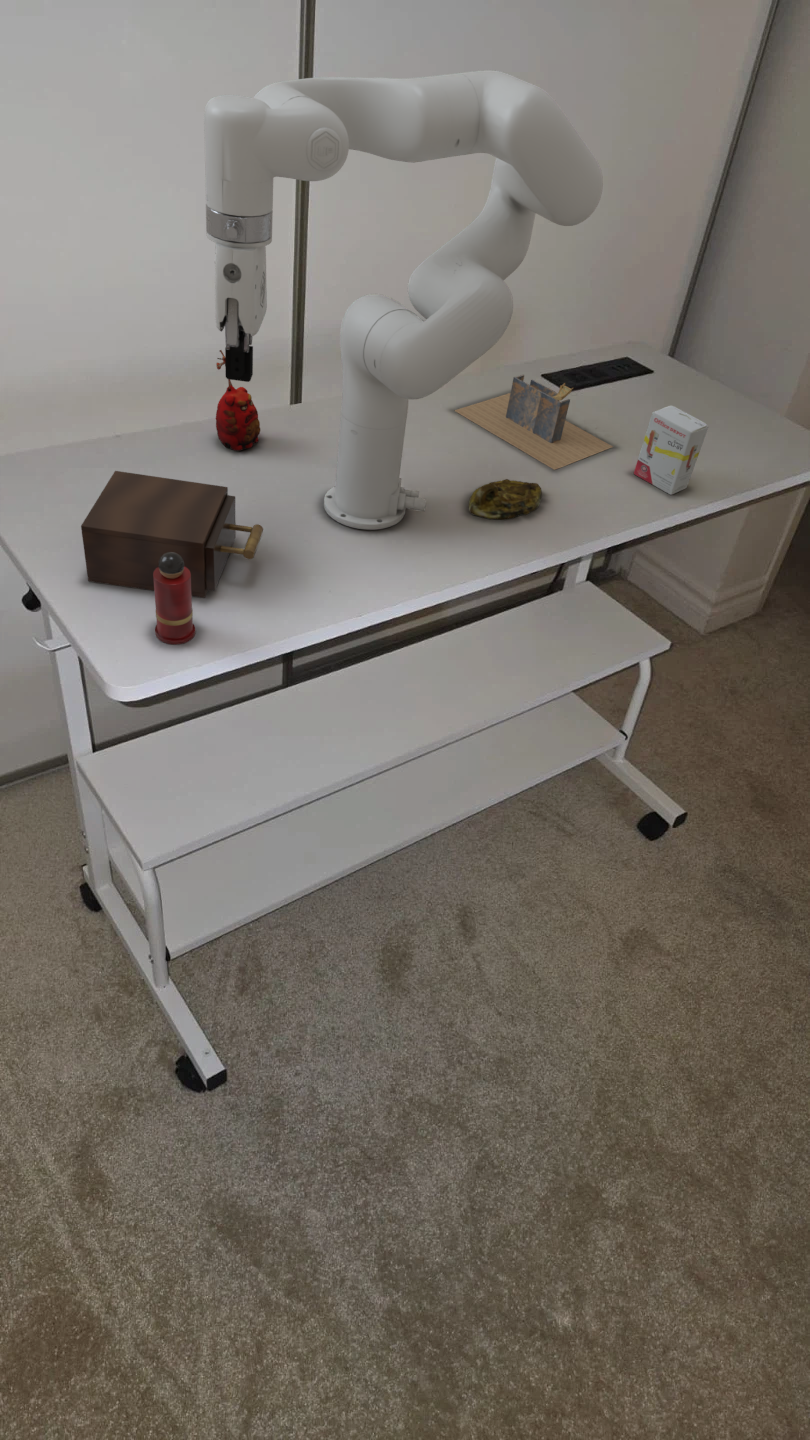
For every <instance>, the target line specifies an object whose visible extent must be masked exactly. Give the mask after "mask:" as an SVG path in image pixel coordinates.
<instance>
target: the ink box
mask: <svg viewBox="0 0 810 1440" xmlns="http://www.w3.org/2000/svg"><path fill="white" fill-rule="evenodd" d="M646 428H647V429H646V432H645V435H644V438H643V441H642V444H641V449H640V451H639V454H638V458H637V461H636V464H635V467H634V470H633V475H635V476H636V477H638V478H639V479H642V480H644V481H645V482H647V483H649V484H651V485H652V486H653V487H656V488H657V489H659V490H661V491H662V492H665V493H666V494H668V495H670V496H672V495H674V494H677V493H678V492H681V491H683V490H685V489H687V487H688V485H689V482H690V479H691V477H692V474H693V472H694V469H695V465H696V463H697V460H698V457H699V455H700V452H701V449H702V447H703V443H704V441H705V438H706V435H707V432H708V430H709V426H708V424H707V423H706V422H704V421H702V420H701V419H698V418H697V417H695V416H693V415H691V414H689V413H687V412H686V411H684V410H683V409H680V408H678V407H676V406H675V405H667V406H665V407H662V408H658V409H655V410H654V411H652V413H651V415H650V419H649V422H648V425H647V427H646Z"/></svg>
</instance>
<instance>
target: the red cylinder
mask: <svg viewBox="0 0 810 1440" xmlns="http://www.w3.org/2000/svg"><path fill="white" fill-rule="evenodd" d="M158 566H159V567H158V568H156V569H155V570H154V573H153V579H154V591H153V592H154V602H155V603H154V605H155V617H156V625H155V627H154V635H155V637H156V638H157V639H158V641H160V642H162V643H164V644H167V645H171V646H172V645H174V646H178V645H179V646H180V645H183V644H186V643H188V642H190V641H191V640H193V639H194V637H195V636H196V626H195V623H194V622H193V621H194V620H193V619H194V618H193V615H194V612H193V609H194V608H193V599H192V598H193V596H192V594H191V573H190V571H189V569H188V568H186V567H185V566H184V561H183V559H182V557H181V556H180V555H179V554H177V553H174V552H167V553H165V554H163V555H162V556H161V557H160V559H159V562H158Z"/></svg>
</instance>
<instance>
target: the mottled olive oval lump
mask: <svg viewBox="0 0 810 1440" xmlns="http://www.w3.org/2000/svg"><path fill="white" fill-rule="evenodd" d="M542 497H543V490H542V487H541V485H540V484H539V483H537V482H527V481H526V482H525V481H521V480H514V479H512V480H511V479H508V478H505V479H502V480H497V481H492V482H491V481H490V482H488V483H486V484H483V485H481V486H479V487H478V488H475V490H473V492H472V494H471V495H470V497H469V500H468V511H469V513H470V514H471V515H473V516H476V517H479V518H483V519H487V520H498V521H499V520H500V521H507V520H511V519H512V520H513V519H515V518H517V517H520V516H524V515H525V516H526V515H529V514H531V513H532V512H534V511H536V510H537V509H538V508H539V506H540V504H541V501H542Z"/></svg>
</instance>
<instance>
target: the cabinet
mask: <svg viewBox="0 0 810 1440" xmlns="http://www.w3.org/2000/svg"><path fill="white" fill-rule="evenodd" d="M228 493H229V489H228V486H224V485H216V484H209V483H202V482H195V481H188V480H181V479H174V478H169V477H168V478H167V477H161V476H154V475H147V474H140V473H135V472H134V473H133V472H127V471H119V470H115V471H114V472H113V473H112V475H111V477H110V479H109V480H108V481H107V483H106V485H105V487H103V490H102V491H101V493H100V494H99V496H98V497H97V499H96V501H95V502H94V504H93V506H92V507H91V509H90V511H89V512H88V514H87V515H86V517H85V518H84V520H83V522H82V523H81V525H80V529H81V537H82V545H83V552H84V559H85V565H86V566H85V568H86V574H87V581H88V582H89V583H91V582H92V583H97V584H104V585H111V586H119V587H126V588H132V589H133V588H134V589H140V590H145V591H146V590H147V591H152V592H154V579H153V573H154V570H155V569H156V568H158V567H159V566H158V562H159V559H160V557H161V556H162V555H163V554H165V553H167V552H174V553H177V554H179V555H180V556H181V557H182V559H183V561H184V566H185V567H186V568H188V569H189V571H190V573H191V594H192V597H194V598H195V597H196V598H203V599H205V598H206V596H207V594H208V591H209V590H206V575H205V543H206V541H207V539H208V536H209V534H210V532H211V529H212V527H213V525H214V522H215V520H216V518H217V517H218V515H219V513H220V510H221V508H222V506H223V503H224V501H225V499H226V496H227V495H229V494H228Z"/></svg>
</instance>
